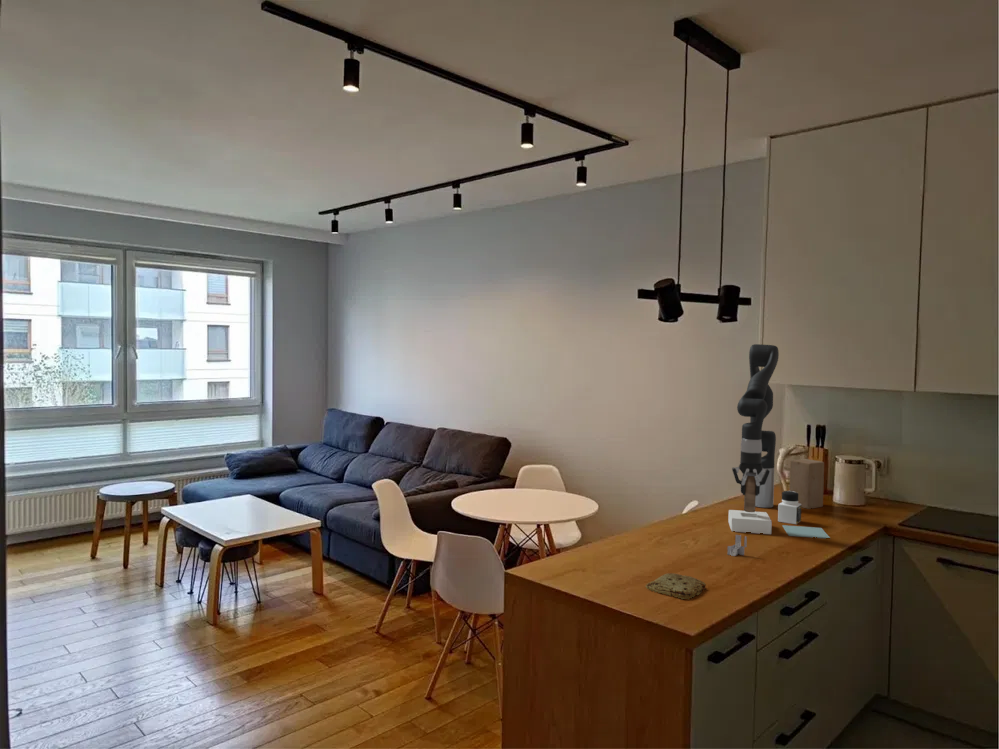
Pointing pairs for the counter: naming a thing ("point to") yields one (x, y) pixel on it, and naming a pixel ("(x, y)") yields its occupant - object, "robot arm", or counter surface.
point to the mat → (805, 531)
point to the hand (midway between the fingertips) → (749, 494)
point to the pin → (750, 492)
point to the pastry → (677, 585)
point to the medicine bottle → (789, 508)
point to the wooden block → (807, 482)
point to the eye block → (749, 522)
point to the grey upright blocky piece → (737, 546)
